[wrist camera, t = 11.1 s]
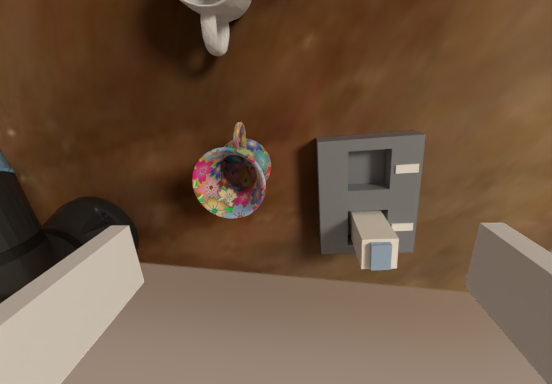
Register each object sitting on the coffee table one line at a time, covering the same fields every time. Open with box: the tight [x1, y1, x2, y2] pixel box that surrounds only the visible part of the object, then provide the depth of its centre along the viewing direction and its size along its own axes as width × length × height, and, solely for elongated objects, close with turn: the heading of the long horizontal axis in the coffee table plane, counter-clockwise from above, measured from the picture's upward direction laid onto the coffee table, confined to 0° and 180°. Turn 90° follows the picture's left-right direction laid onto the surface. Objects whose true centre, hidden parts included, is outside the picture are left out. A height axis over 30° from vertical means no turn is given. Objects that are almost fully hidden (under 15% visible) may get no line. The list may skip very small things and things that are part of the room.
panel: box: [316, 130, 426, 254], centre depth 40 cm, size 14×18×4 cm
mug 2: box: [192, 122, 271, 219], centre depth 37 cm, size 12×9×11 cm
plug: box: [349, 210, 399, 270], centre depth 38 cm, size 4×4×11 cm
